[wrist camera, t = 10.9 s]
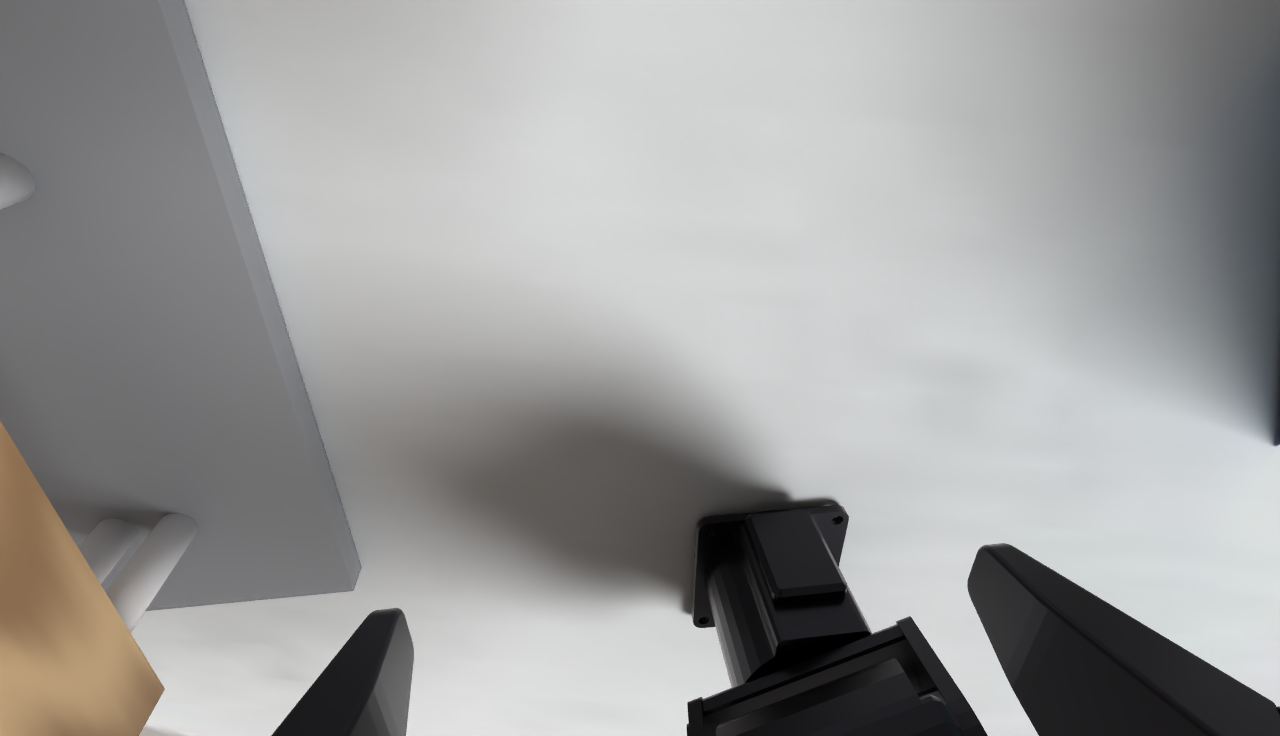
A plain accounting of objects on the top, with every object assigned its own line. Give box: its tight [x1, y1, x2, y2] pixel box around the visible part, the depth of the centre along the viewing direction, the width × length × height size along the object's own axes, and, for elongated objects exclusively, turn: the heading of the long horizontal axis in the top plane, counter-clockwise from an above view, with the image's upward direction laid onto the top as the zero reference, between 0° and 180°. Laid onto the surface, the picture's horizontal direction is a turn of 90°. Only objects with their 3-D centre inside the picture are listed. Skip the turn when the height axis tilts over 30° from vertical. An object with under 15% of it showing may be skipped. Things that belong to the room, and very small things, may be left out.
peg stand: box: [0, 0, 361, 633], centre depth 18 cm, size 20×12×6 cm, turn 0°
